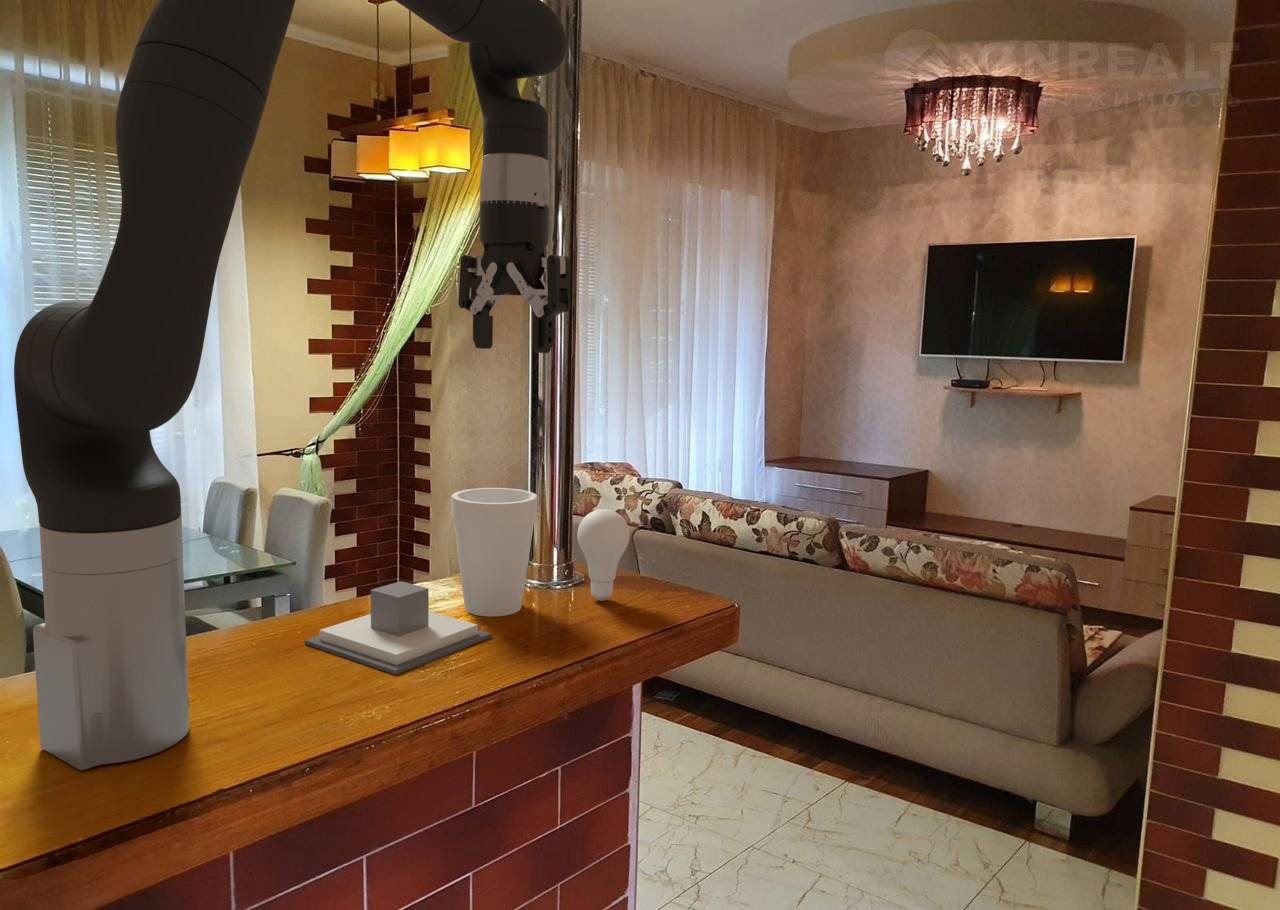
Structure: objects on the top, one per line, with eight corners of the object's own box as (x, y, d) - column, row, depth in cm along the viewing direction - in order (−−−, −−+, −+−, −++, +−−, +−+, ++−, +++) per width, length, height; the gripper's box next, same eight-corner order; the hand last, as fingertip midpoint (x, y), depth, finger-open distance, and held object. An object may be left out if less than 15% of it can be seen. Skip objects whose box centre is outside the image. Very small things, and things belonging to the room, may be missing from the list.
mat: (395, 674, 87) (395, 670, 87) (304, 643, 94) (304, 640, 94) (491, 637, 97) (491, 633, 97) (403, 612, 104) (403, 608, 104)
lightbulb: (566, 603, 110) (568, 510, 108) (591, 590, 115) (594, 502, 114) (612, 611, 107) (615, 517, 106) (636, 598, 113) (639, 508, 111)
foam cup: (528, 622, 102) (530, 505, 100) (443, 619, 103) (443, 502, 101) (539, 596, 112) (541, 489, 110) (461, 593, 112) (462, 486, 110)
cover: (396, 664, 88) (396, 613, 87) (319, 639, 94) (318, 591, 93) (477, 634, 97) (478, 587, 96) (403, 612, 103) (402, 568, 102)
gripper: (442, 199, 104) (442, 347, 106) (543, 194, 96) (540, 354, 98) (489, 207, 110) (487, 347, 112) (587, 203, 102) (583, 353, 105)
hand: (512, 350), depth 105 cm, fingers open, 8 cm apart
